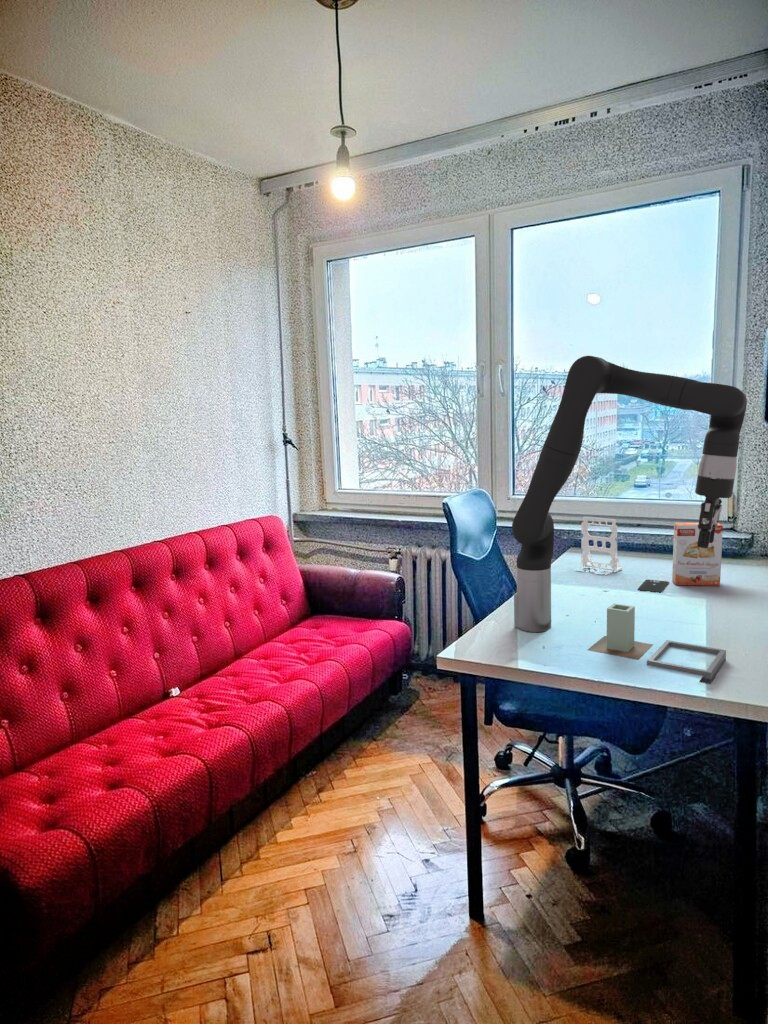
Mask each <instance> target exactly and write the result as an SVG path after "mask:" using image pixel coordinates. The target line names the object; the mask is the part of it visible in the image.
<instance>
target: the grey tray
mask: <svg viewBox="0 0 768 1024" xmlns="http://www.w3.org/2000/svg"><path fill="white" fill-rule="evenodd" d="M670 647H673V648H678V649H679V648H680V649H684V650H690V651H695V652H701V653H708V654H713V655H716V656H715V657H714V659H713V661H712V662H711V663H710V665H709V667H708V668H707V669H702V668H696V667H691V666H686V665H680V664H676V663H670V662H665V661H659V659H660V658H661V657H662V655H663V654H664V653H665V652H666V651H667V650H668V649H669V648H670ZM726 659H727V649H721V648H714V647H711V646H702V645H698V644H691V643H686V642H680V641H674V640H669V639H666V640H665V641H664V642H663V643H662V644H661V646H660V647H658V648H657V649H656V650H655V651H654V653H653V654H652V655H651V656H650V657H649V658H648V659H647V660H646V665H647V666H651V667H656V668H660V669H665V670H669V671H676V672H681V673H686V674H690V675H696V676H700V677H701V678H700V680H699V683H703V684H708V685H711V684H712V683H713V681H714V680H715V678H716V676H717V675H718V673H719V672H720V670H721V668H722V667H723V666H724V664H725V662H726Z"/></svg>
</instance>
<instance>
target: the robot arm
mask: <svg viewBox="0 0 768 1024" xmlns="http://www.w3.org/2000/svg"><path fill="white" fill-rule="evenodd" d="M565 380H566V381H565V383H564V388H563V391H562V396H561V398H560V402H559V406H558V408H557V410H556V411H557V412H556V413H555V416H554V418H553V421H552V423H551V425H550V427H549V431H548V434H547V436H546V438H545V441H544V443H543V446H542V448H541V451H540V454H539V457H538V460H537V463H536V466H535V468H534V472H533V474H532V476H531V479H530V482H529V486H528V489H527V491H526V494H525V495H524V498H523V500H522V502H521V503H520V506H519V508H518V510H517V512H516V513H515V516H514V518H513V520H512V524H511V532H512V535H513V538H514V539H515V540H516V541H517V542H518V544H521V548H520V551H519V553H518V554H517V557H516V592H515V593H514V594H513V609H514V610H513V611H514V612H513V615H514V617H513V618H514V619H513V620H514V622H513V623H514V627H515V628H516V629H519V630H521V631H524V632H529V633H530V632H531V633H540V632H542V633H543V632H546V631H547V632H548V631H549V630H551V628H552V559H553V557H554V550H555V549H554V547H555V546H554V545H555V544H554V543H555V525H554V520H553V519H554V518H552V516H551V514H550V513H549V512H550V509H551V506H552V505H553V502H554V500H555V498H556V496H557V495H558V493H559V492H560V490H562V488H563V486H564V485H565V483H566V482H567V481H568V479H569V478H570V476H571V473H572V472H573V470H574V468H575V465H576V463H577V460H578V458H579V455H580V452H581V449H582V446H583V440H584V431H585V426H586V425H585V424H586V419H587V415H588V412H589V410H590V408H591V405H592V403H593V401H594V399H595V398H596V395H597V394H610V395H611V394H612V395H613V394H614V395H621V396H622V395H623V396H627V397H632V398H636V399H640V400H643V401H646V402H649V403H652V404H656V405H661V406H665V407H669V408H673V409H674V408H675V409H679V410H682V411H683V410H686V411H695V412H698V413H702V414H706V415H710V418H709V425H708V430H707V431H706V433H705V437H704V440H703V442H704V443H703V446H702V447H703V448H702V454H701V457H700V461H699V466H698V471H697V472H698V473H697V478H696V485H695V490H694V493H695V494H696V495H698V496H702V497H705V499H704V502H703V501H702V502H701V504H700V507H699V508H700V509H699V510H700V512H699V516H698V520H699V521H698V523H699V525H698V529H699V530H700V531H699V538H698V544H697V546H698V547H701V548H708V546H709V543H712V542H713V541H714V534H715V528H714V527H716V526H717V524H718V523H720V517H721V513H722V509H723V505H722V499H731V498H732V497H733V491H734V484H735V480H736V472H737V465H738V463H737V462H738V461H737V459H738V458H737V457H738V454H739V453H738V452H739V445H740V437H741V436H740V435H741V431H742V426H743V423H744V421H745V420H744V419H745V415H746V411H747V410H746V409H747V404H748V403H747V397H746V394H745V393H744V392H743V390H741V389H739V388H738V387H736V386H733V385H729V384H728V385H727V384H721V383H714V382H707V381H706V382H704V381H699V380H695V379H691V378H687V377H682V376H676V375H672V374H664V373H655V372H648V371H647V372H646V371H639V370H634V369H632V368H631V369H630V368H626V367H623V366H620V365H617V364H615V363H613V362H610V361H607V360H606V359H604V358H603V357H599V356H593V355H584V356H580V357H579V358H578V359H576V360H575V361H574V362H573V363H572V364H571V365H570V367H569V369H568V373H567V375H566V379H565ZM703 523H704V524H703Z"/></svg>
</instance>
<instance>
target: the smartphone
mask: <svg viewBox="0 0 768 1024" xmlns="http://www.w3.org/2000/svg"><path fill="white" fill-rule="evenodd" d="M668 583H670V582H669V581H668V580H657V579H645V580H644V581H643V582H642V583H641V584H640V585H639V586H638V588H637V591H638V590H640V591H639V592H646V591H650V592H649V593H656V592H659V593H660V594H662V593H663V592H664V590H665V589H666V588H667V587H668V585H669V584H668ZM665 587H666V588H665ZM662 591H663V592H662ZM661 592H662V593H661ZM659 593H658V594H659Z"/></svg>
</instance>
